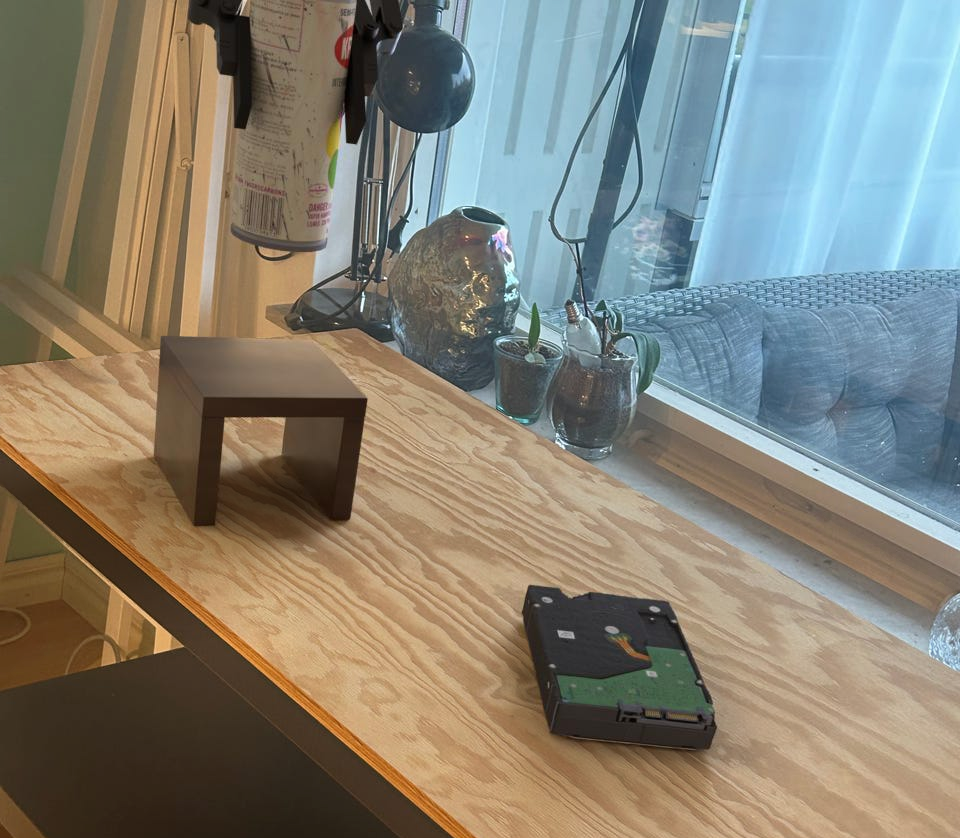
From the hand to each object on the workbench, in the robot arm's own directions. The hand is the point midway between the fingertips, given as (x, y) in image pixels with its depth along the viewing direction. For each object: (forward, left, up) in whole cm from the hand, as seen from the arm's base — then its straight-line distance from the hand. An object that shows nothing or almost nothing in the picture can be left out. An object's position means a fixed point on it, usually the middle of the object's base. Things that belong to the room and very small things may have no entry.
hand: (300, 124), depth 87 cm
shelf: (-2, 0, -27) cm, 27 cm away
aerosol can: (-3, +1, -9) cm, 9 cm away
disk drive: (+28, +15, -27) cm, 42 cm away
